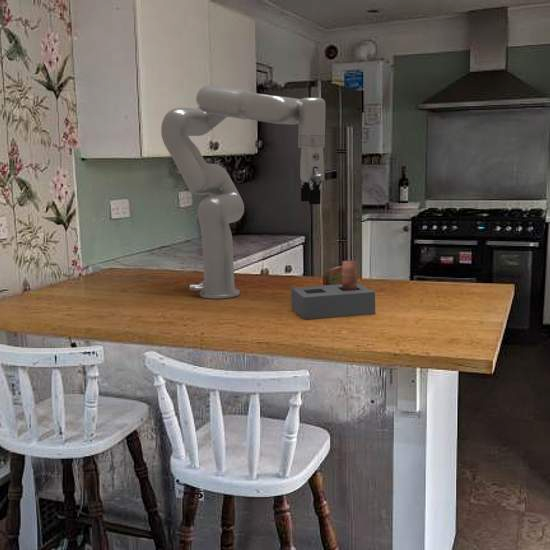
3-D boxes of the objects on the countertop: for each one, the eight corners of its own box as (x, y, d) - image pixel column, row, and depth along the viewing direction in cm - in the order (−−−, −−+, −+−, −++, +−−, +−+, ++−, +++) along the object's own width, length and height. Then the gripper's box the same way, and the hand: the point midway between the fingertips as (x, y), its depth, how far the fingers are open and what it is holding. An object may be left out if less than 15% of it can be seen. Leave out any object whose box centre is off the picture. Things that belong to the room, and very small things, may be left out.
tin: (329, 298, 211) (329, 270, 209) (321, 297, 212) (320, 270, 211) (354, 289, 222) (354, 263, 221) (345, 288, 224) (345, 263, 223)
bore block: (304, 319, 185) (303, 297, 184) (291, 308, 198) (291, 287, 197) (375, 313, 189) (375, 292, 188) (358, 303, 202) (357, 282, 201)
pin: (344, 305, 192) (344, 263, 190) (340, 302, 196) (340, 261, 194) (358, 305, 193) (358, 262, 191) (353, 302, 197) (354, 260, 194)
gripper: (332, 142, 190) (331, 205, 193) (316, 142, 206) (315, 200, 210) (306, 142, 188) (304, 205, 191) (291, 142, 205) (291, 200, 208)
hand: (310, 202), depth 200 cm, fingers open, 9 cm apart
